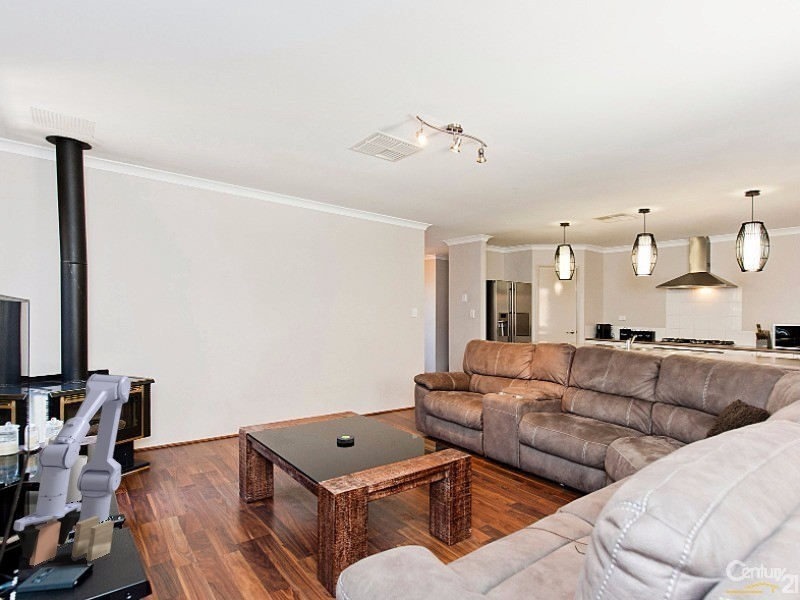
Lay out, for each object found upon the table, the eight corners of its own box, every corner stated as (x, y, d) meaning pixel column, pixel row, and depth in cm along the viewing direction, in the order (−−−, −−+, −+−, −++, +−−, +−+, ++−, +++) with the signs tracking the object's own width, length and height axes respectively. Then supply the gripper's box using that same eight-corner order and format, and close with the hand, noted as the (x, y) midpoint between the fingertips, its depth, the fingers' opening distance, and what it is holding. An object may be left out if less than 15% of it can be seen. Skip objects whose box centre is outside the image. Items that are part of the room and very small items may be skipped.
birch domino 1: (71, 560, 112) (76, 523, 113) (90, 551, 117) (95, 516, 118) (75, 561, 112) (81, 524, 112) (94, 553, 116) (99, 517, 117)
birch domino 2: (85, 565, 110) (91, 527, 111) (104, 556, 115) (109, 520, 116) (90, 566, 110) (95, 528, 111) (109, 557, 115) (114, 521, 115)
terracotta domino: (29, 567, 107) (35, 528, 108) (50, 558, 112) (56, 521, 113) (33, 568, 107) (39, 529, 108) (55, 559, 112) (60, 522, 112)
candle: (37, 505, 141) (47, 441, 143) (41, 497, 148) (50, 436, 149) (80, 501, 147) (89, 439, 149) (82, 494, 153) (91, 434, 155)
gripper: (32, 505, 103) (22, 567, 102) (92, 487, 117) (84, 542, 115) (11, 499, 105) (2, 560, 104) (73, 482, 119) (65, 536, 118)
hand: (44, 550), depth 110 cm, fingers open, 7 cm apart
